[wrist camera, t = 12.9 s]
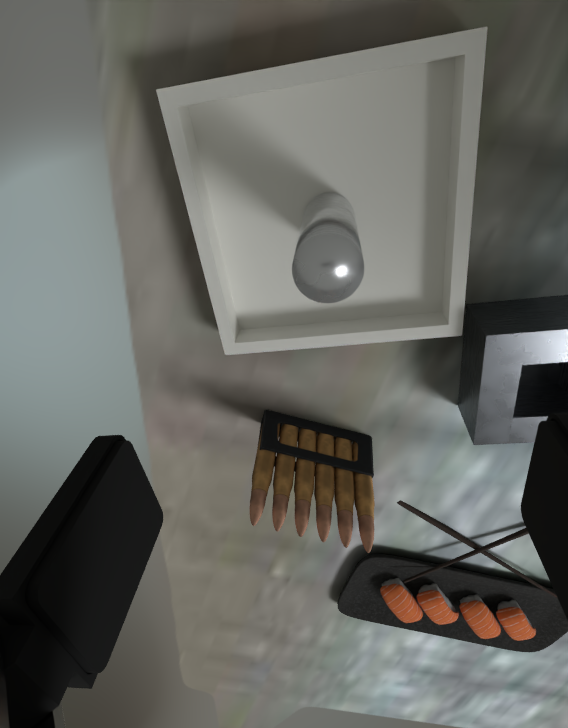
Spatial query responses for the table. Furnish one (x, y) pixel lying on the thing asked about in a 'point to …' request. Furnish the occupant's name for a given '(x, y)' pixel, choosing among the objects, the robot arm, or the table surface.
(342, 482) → the ammunition clip
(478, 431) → the pin block
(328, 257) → the pin
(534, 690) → the table surface
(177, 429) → the table surface
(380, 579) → the sushi plate
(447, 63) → the tray
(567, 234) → the table surface
